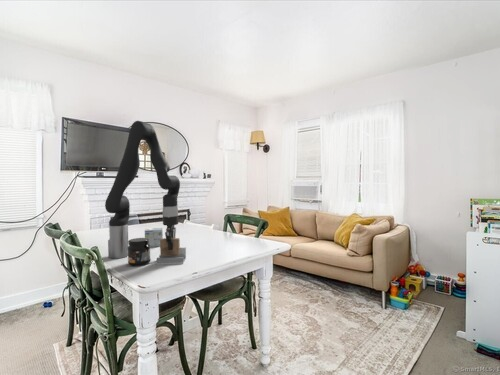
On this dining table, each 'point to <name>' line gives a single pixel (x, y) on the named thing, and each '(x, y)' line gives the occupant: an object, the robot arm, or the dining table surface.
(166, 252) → the brown rectangular block
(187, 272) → the dining table surface
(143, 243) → the supplement container
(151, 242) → the light bulb box
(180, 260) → the grey channel holder
